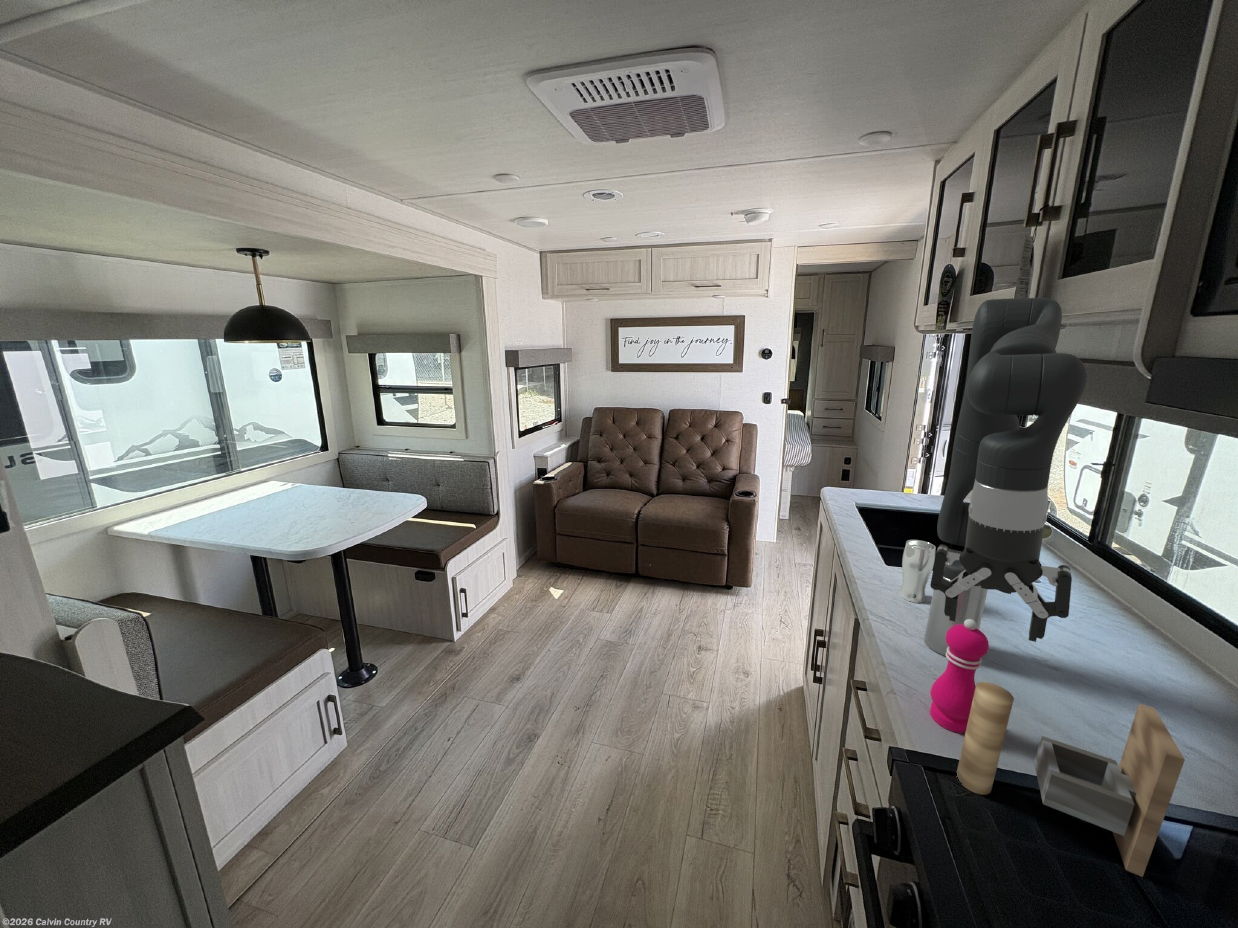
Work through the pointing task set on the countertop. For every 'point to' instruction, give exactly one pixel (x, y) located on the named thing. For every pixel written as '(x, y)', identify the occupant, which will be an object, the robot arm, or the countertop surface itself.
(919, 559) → the beer glass
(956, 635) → the pepper mill
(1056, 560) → the countertop surface
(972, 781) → the oak post
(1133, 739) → the cup bracket
